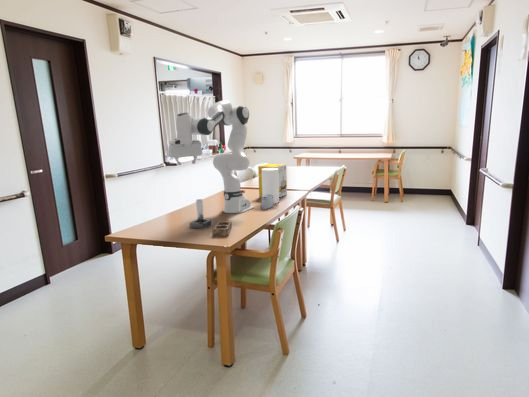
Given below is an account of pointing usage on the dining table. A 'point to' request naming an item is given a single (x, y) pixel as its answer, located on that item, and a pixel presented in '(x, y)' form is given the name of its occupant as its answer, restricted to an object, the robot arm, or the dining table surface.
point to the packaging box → (281, 178)
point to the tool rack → (222, 229)
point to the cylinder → (270, 183)
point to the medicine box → (267, 201)
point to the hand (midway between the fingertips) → (186, 164)
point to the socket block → (200, 224)
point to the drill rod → (200, 211)
